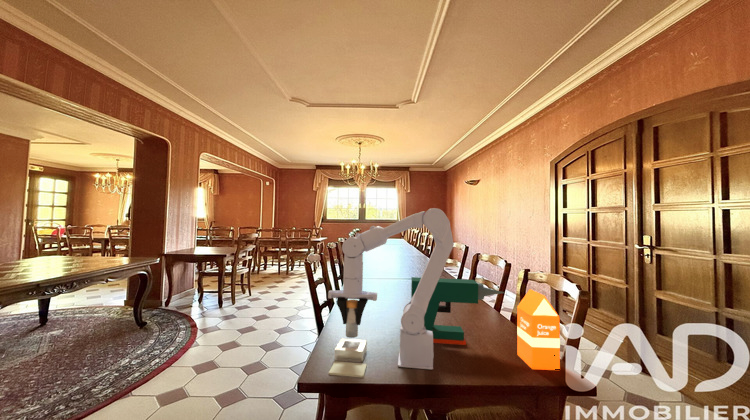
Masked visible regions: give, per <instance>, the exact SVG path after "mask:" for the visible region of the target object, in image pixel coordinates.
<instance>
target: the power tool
mask: <svg viewBox="0 0 750 420" xmlns="http://www.w3.org/2000/svg"><path fill="white" fill-rule="evenodd" d="M420 280H421V277H418V276H417V277H416V276H415V277H413V276H411V288H410V289H411V292H410V293H411V294H410V297H411V298H412V297H413V295H414V293H415V291H416V289H417V287H418V284H419V282H420ZM505 293H506V292H504V291H501V290H500V291H499V290H496V289H493V288H489V287H485V286H484V284H483V283H479V282H477V281H476V280H474V279H465V278H464V279H462V278H441V277H440V278H439V280H438V282H437V285H436V287H435V289H434V292H433V294H432V296H431V298H430V301H429V303H428V307H427V310H426V313H425V316H424V327H425V328H426V330H429V331H432V332H433V344H447V345H448V344H449V345H463V346H467V340H466V339H465V331H464V330H463V328H462V326H460V325H459V326H458V325H457V326H456V325H445V324H444V325H441V324H435V322H436V320H437V319H436V318H437V314H438V313H446V314H448V313H449V314H450V313H451V311H452V308H451V307H452V306H451V305H452V303H459V304H475V305H476V304H479V300H481V301H483V300H484V299H485V297H487V296H488V297H489V296H494V295H499V294H505ZM440 303H445V305H440Z"/></svg>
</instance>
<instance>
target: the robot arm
mask: <svg viewBox="0 0 750 420" xmlns="http://www.w3.org/2000/svg"><path fill="white" fill-rule="evenodd" d="M423 226H424V227H425V228H426V229H427V230H428V231H429V232H430V233H431V235H432V238H433V240H434V241H433V242H434V243H435V245H434V248H433V251H432V252H431V254H430V257H429V259H428V262H427V263H426V266H425V268H424V271H423V273H422V275H421V277H420V278H421V280H420V282H419V284H418V287H417V289H416V291H415V293H414V295H413V297H411V299H410V301H409V302H407V303H406V304H405V306H404V308H403V310H402V311H403V313H402V315H401V318H400V325H401V326H400V327H399V328H400V329H399V330H400V331H399V333H400V334H399V339H400V340H399V341H400V342H399V352H398V360H397V367H400V368H406V369H407V368H409V369H411V368H412V369H421V370H434V358H435V357H434V356H435V354H434V343H433V332H432V331H429V330H426V328H425V327H424V316H425V313H426V310H427V307H428V303H429V301H430V298H431V296H432V294H433V292H434V289H435V287H436V285H437V282H438V280H439V278H441V275H442V273H443V271H444V268H445V267H446V264H447V262H448V259H449V256H450V255H451V253H452V250H453V248H454V239H453V238H454V237H453V233H452V228H451V227H452V226H451V221H450V219H449V218H448V217H447V215H446V213H445V212H444V211H443V210H442V209H440V208H438V207H437V208H435V207H433V208H429V209H428V210H426V211H420V212H418V213H417V212H416V213H414V214H411V215H409V216H406V217H404V218H402V219H401V220H398V221H396V222H394V223H392V224H390V225H388V226H386V227H382V226H380V225H377V226H375V225H372V226H370V227H369V229H368V230H365V231H363V232H361V233H360V232H357V233H355V236H350V237H348V238H347V239H345V240H344V241H343V243H342V245H341V250H342V253H343V254H344V257H343V280H342V281H343V286H342V289H339V290H335V289H334V290H332V289H331V290H328V292H327V299H337V300H336V305H337V306H338V309H339V312H340V315H341V318H342V319H341V320H342V324H343V325H346V301H347V300H358V302H357V306H358V318H357V325H358V326H360V325H361V322H362V318H363V313H364V310H365V309H366V305H367V304H368V301H373V302H377V301H378V292H372V291H367V290H366V291H364V290H363V282H364V281H363V279H364V277H363V276H364V275H363V274H364V271H363V270H364V269H363V268H364V261H363V260H364V259H363V258H364V257H363V255H364V252H366V253H367V252H370V251H371V250H374V249H377V248H378V247H381V246H383V245H386V243H387V242H388V239H389V238H391V237H392V236H395V235H398V234H400V233H402V232H405V231H408V230H410V229H412V228H415V229H423Z"/></svg>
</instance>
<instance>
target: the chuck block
mask: <svg viewBox="0 0 750 420" xmlns="http://www.w3.org/2000/svg"><path fill="white" fill-rule="evenodd" d="M367 345H368V341H367V339H358V338H357V339H356V338H354V339H353V338H340V340H339V342H338V343H337V345H336V347H335V348H334V361H337V362H349V363H361V364H363V362H364V359H365V356H366V352H367V348H368V347H367Z"/></svg>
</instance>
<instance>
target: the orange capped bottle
mask: <svg viewBox="0 0 750 420" xmlns="http://www.w3.org/2000/svg"><path fill="white" fill-rule="evenodd" d="M358 301H359V299H348V300H347V301H346V324H345V337H346V338H348V339H353V338H354V339H355V338H357V337H358V336H359V325H357V318H358V306H357V302H358Z"/></svg>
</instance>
